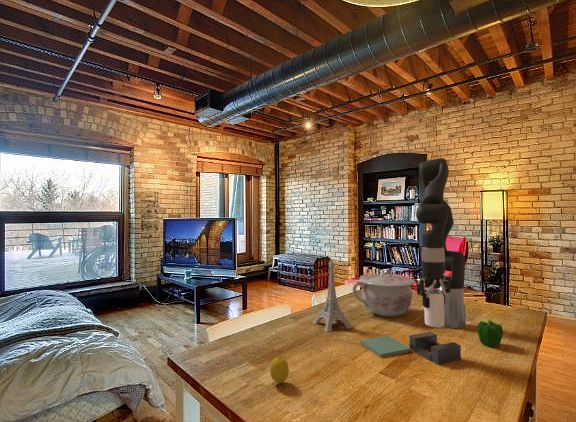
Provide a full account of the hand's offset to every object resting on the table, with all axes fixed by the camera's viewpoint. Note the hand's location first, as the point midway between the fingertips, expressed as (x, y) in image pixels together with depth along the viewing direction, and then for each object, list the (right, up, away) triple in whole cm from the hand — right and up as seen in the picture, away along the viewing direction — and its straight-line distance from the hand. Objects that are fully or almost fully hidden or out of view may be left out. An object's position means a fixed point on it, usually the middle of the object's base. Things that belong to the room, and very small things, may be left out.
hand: (434, 306), depth 114 cm
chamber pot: (-2, -18, +48) cm, 51 cm away
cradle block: (0, -17, 0) cm, 17 cm away
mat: (-16, -17, +6) cm, 24 cm away
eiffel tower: (-32, -18, +31) cm, 48 cm away
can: (0, -7, 0) cm, 7 cm away
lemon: (-55, -18, -19) cm, 61 cm away
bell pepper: (+25, -17, +8) cm, 31 cm away
